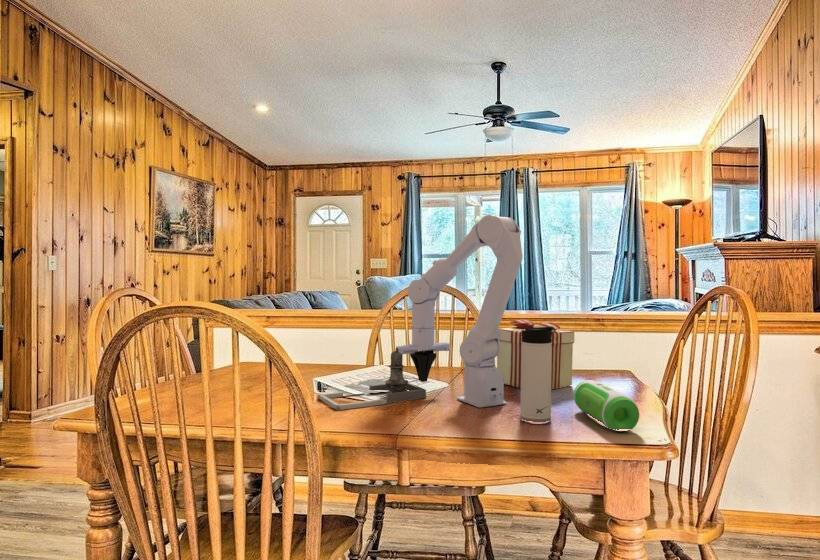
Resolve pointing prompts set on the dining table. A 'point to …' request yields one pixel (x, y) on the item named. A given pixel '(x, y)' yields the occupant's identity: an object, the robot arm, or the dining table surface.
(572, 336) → the gift box
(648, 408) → the dining table surface
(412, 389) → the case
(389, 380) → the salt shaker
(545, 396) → the travel mug
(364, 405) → the gray square frame
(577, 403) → the speaker
